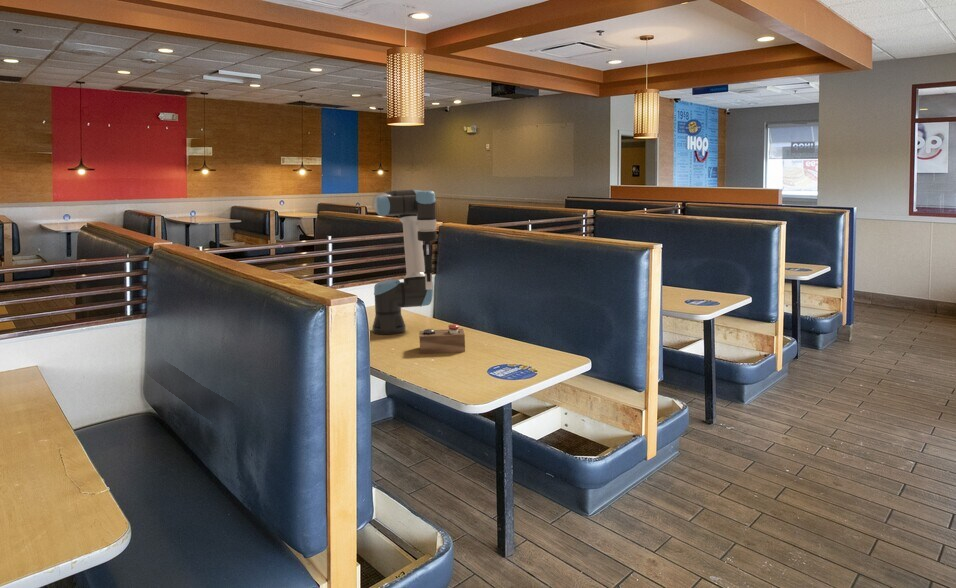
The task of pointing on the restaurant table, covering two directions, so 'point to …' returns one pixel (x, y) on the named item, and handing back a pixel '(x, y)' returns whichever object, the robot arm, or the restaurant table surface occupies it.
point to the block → (442, 342)
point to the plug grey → (429, 331)
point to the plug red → (453, 328)
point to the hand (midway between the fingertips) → (429, 289)
